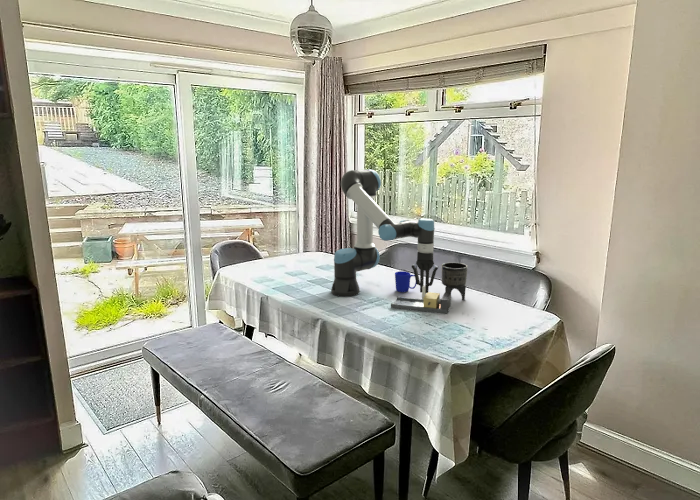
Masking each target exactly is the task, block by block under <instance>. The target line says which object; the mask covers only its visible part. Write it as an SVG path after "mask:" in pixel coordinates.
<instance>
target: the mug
mask: <svg viewBox="0 0 700 500" xmlns="http://www.w3.org/2000/svg"><path fill="white" fill-rule="evenodd" d="M412 277H415V275H414V274H411V273H410V272H409V271H396V272H395V273H394V281H395V290H396V291H397V292H398V293H406V292H408V291H409V289H411V290H413V289H415V288H416V286H417V284H416V282H415V283H414V286H413V287H411V278H412Z"/></svg>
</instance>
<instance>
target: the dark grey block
mask: <svg viewBox="0 0 700 500" xmlns="http://www.w3.org/2000/svg"><path fill="white" fill-rule="evenodd" d="M440 299H441V309H442V311H443V310H445V311H446V310H447V311H448V309H449V307H450V305H452V292H451V293H449V292H445V291H444V293H443V295H442V297H440ZM450 308H451V307H450ZM449 310H450V309H449ZM440 311H441V310H440ZM442 311H441V312H442ZM448 312H449V311H448Z"/></svg>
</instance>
